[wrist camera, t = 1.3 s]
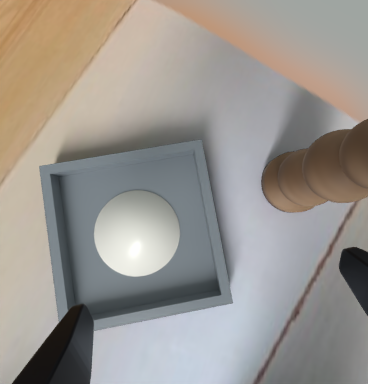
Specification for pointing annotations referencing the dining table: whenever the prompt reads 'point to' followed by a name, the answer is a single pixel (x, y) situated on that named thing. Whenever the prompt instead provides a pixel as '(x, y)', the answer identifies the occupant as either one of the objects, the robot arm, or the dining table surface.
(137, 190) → the square tray
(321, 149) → the bead column
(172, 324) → the dining table surface
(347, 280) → the robot arm
